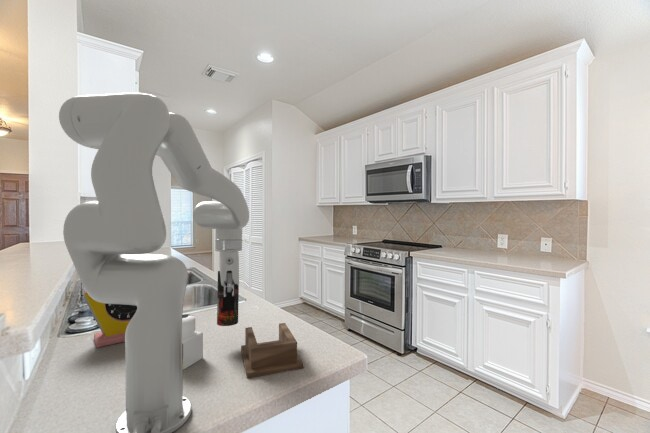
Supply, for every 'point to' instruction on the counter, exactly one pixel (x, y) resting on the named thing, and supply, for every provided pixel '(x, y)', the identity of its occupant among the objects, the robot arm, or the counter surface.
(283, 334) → the cradle
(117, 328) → the yellow clock
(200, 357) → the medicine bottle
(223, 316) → the deodorant
